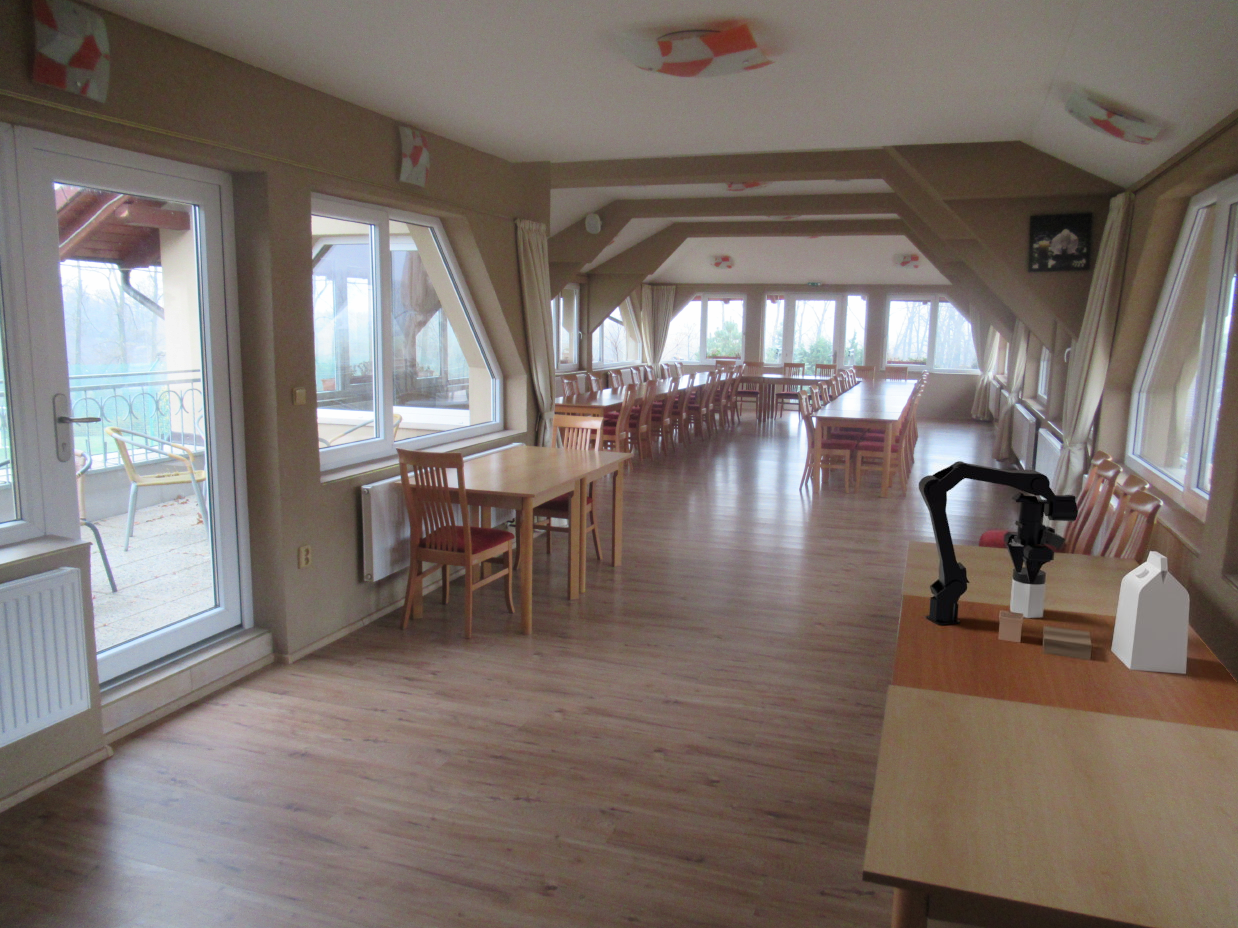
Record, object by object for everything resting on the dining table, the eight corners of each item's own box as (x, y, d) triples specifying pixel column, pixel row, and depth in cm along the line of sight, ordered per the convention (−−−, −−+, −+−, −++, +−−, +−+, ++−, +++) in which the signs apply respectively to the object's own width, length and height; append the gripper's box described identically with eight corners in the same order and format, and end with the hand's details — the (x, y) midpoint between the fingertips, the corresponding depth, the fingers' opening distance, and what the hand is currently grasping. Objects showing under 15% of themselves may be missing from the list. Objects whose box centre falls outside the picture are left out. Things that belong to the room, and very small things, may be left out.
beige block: (1090, 661, 200) (1091, 645, 199) (1042, 654, 204) (1044, 638, 204) (1087, 647, 209) (1089, 631, 208) (1042, 640, 213) (1043, 625, 213)
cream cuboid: (1021, 643, 211) (1022, 619, 210) (997, 639, 213) (999, 616, 212) (1021, 636, 215) (1023, 613, 215) (998, 632, 218) (1000, 610, 217)
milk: (1185, 673, 192) (1198, 562, 188) (1130, 669, 194) (1141, 559, 190) (1163, 653, 204) (1174, 549, 200) (1111, 650, 206) (1121, 546, 202)
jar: (1049, 614, 232) (1053, 572, 230) (1035, 620, 227) (1039, 577, 225) (1017, 606, 239) (1020, 565, 237) (1002, 612, 233) (1006, 570, 232)
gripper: (1078, 529, 209) (1072, 589, 212) (1048, 512, 228) (1042, 568, 230) (1032, 527, 210) (1025, 587, 213) (1005, 511, 229) (1000, 566, 231)
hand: (1024, 577), depth 222 cm, fingers open, 9 cm apart
